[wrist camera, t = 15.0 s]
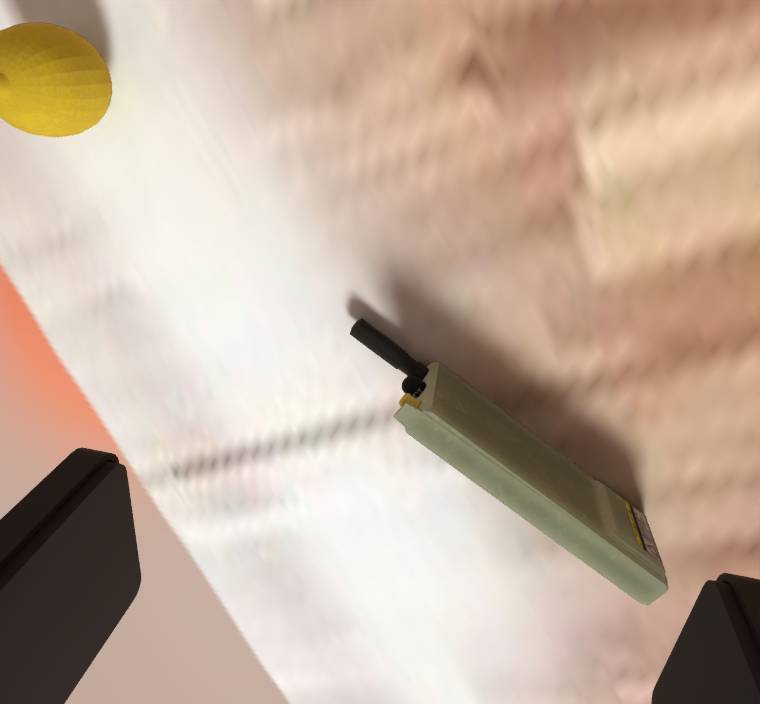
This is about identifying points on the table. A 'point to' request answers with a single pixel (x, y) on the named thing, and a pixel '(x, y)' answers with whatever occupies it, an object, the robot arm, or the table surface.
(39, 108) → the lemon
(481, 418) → the handheld radio
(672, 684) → the robot arm
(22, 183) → the table surface
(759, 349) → the table surface
